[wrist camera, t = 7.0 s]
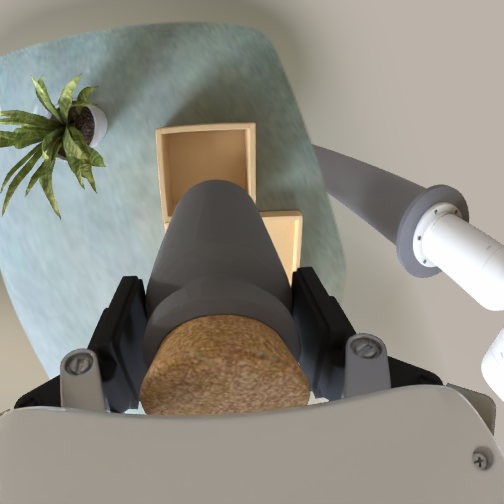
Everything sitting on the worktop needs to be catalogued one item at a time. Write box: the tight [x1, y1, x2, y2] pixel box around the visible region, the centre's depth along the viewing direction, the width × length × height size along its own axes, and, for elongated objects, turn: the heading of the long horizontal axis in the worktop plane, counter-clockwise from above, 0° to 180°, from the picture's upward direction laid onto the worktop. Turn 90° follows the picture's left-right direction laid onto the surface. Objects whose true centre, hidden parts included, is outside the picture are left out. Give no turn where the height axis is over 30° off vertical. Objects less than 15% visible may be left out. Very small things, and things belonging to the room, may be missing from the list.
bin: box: [156, 122, 256, 222], centre depth 32 cm, size 10×10×5 cm
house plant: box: [0, 74, 108, 219], centre depth 23 cm, size 14×14×16 cm
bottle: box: [140, 179, 310, 415], centre depth 14 cm, size 6×6×15 cm
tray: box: [164, 210, 303, 287], centre depth 40 cm, size 17×15×2 cm
